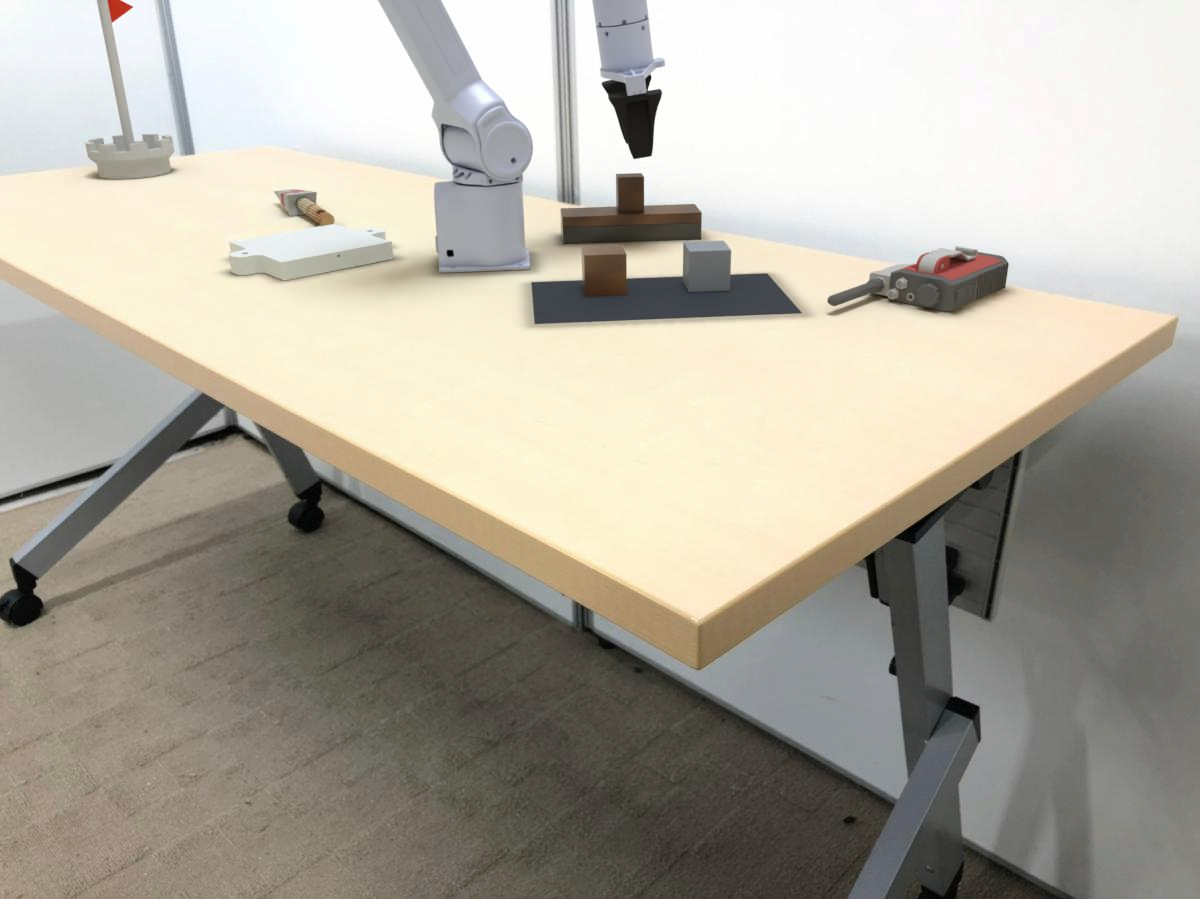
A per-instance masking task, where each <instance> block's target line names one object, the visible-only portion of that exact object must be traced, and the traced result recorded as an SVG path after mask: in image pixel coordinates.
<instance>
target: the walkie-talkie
mask: <svg viewBox="0 0 1200 899" xmlns="http://www.w3.org/2000/svg"><path fill="white" fill-rule="evenodd" d="M1009 265H1010V264H1009V261H1008V260H1007V258H1005V257H1004V256H1003V255H1000V254H999V255H998V254H993V253H987V252H980V251H979V250H978V249H977V248H970V247H965V246H958V245H956V246H955V249H949V248H944V247H940V248H937V249H934V250H932V251H930V252H929V251H928V252H925V253H922V254H921V255H920V256H919V257H918V258H917V260H916V263H903V264H901V263H900V264H894V265H891V266H888V267H886V268H882V269H880V270H874V271H871V272H869V278H868V281H866V282H865V283H863V284H860V285H857V286H854V287H852V288H848V289H845V290H842V291H840V292H838V293H834V294H832V295H829V296H828V297H827V299H826V300H827V304H828V305H829V306H832V307H836V306H840V305H842V304H846V303H848V302H850V301H854V300H857V299H859V298H862V297H864V296H867V295H874V294H875V295H880V296H883V297H884V296H885V297H887V298H888V300H890V301H893V302H895V303H900V304H901V303H902V304H905V305H906V304H907V305H910V306H915V307H920V308H924V309H929V310H934V311H939V312H943V313H951V312H953V311H955V310H958V309H960V308H962V307H964V306H967V305H969V304H971V303H974V302H977V301H979V300H981V299H984V298H985V297H986V298H987V297H988V296H991V295H993V294H995V293H998V292H999V291H1002V290H1005V289H1006V286H1007V281H1008V280H1007V279H1008V272H1009Z"/></svg>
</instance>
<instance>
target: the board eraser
mask: <svg viewBox="0 0 1200 899" xmlns="http://www.w3.org/2000/svg"><path fill="white" fill-rule="evenodd" d="M559 210H560V211H559V212H560V236H561V239H562V241H561V242H562V244H563V246H564V245H565V246H566V245H567V246H568V245H596V244H622V243H645V242H646V243H648V242H650V243H651V242H676V241H679V242H680V241H702V221H703V220H702V218H703V213H702V211H701V210H700V208H699V207H698V206H697V205H696V204H695V203H684V204H683V203H682V204H678V203H677V204H653V205H651V204H649V205H648V204H647V205H645V176H644V175H643V173H642V172H634V173H616V174H615V206H591V207H590V206H589V207H588V206H587V207H561V208H560V209H559Z"/></svg>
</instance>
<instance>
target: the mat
mask: <svg viewBox="0 0 1200 899" xmlns="http://www.w3.org/2000/svg"><path fill="white" fill-rule="evenodd" d="M530 284H531V294H532V308H533V309H532V310H533V319H534V320H533V321H534V325H549V324H570V323H571V324H572V323H573V324H574V323H596V322H621V321H645V320H647V321H648V320H670V319H671V320H672V319H693V318H694V319H696V318H719V317H743V316H747V317H748V316H767V315H768V316H769V315H772V316H773V315H795V314H797V315H798V314H803V312H802V311H801V310H800V308H799V307H798V306H797V305H796V304H795V302H793V301H792V300H791V298H789V296H788V295H787V294H786V293H785V292H784V291H783V289H782V288H781V287H780V286H779V284H778V283H777V282H776V281H774V279H773V278H772V277H771V276H770V275H769V273H768V272H765V273H763V272H762V273H734V274H730V291H711V292H689V291H688V290H687V288H686V286H685V284H684V283H683V275H682V276H657V277H633V278H631V277H630V278H629V277H627V295H608V296H585V294H584V290H583V285H582V279H581V280H580V279H579V280H555V281H554V280H553V281H552V280H551V281H531V283H530Z"/></svg>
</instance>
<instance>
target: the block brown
mask: <svg viewBox="0 0 1200 899" xmlns="http://www.w3.org/2000/svg"><path fill="white" fill-rule="evenodd" d="M580 249H581V280H582V285H583V290H584V294H585V296H608V295H627V279H628V277H627V276H628V275H627V274H628V272H627V269H628V268H627V265H628V264H627V252H626V250H625V248H624V245H623V244H622V243H610V244H582V245H581V248H580Z"/></svg>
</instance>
